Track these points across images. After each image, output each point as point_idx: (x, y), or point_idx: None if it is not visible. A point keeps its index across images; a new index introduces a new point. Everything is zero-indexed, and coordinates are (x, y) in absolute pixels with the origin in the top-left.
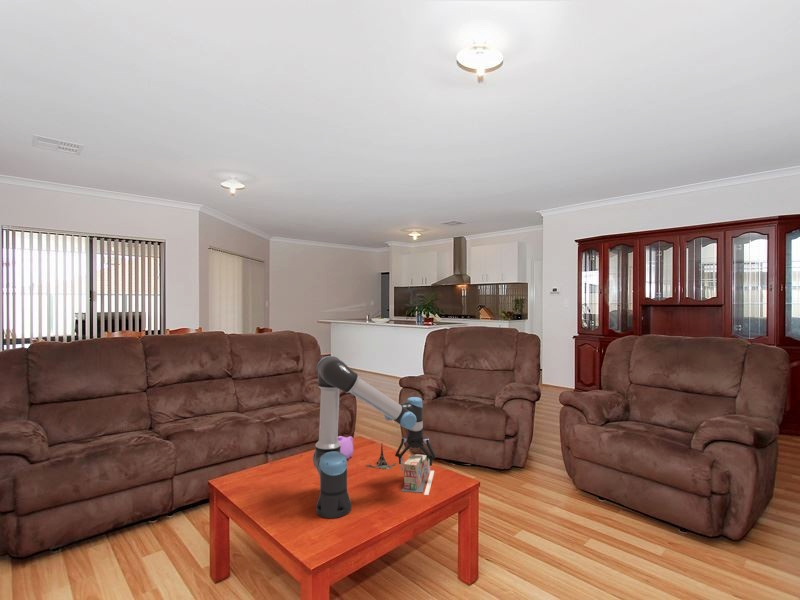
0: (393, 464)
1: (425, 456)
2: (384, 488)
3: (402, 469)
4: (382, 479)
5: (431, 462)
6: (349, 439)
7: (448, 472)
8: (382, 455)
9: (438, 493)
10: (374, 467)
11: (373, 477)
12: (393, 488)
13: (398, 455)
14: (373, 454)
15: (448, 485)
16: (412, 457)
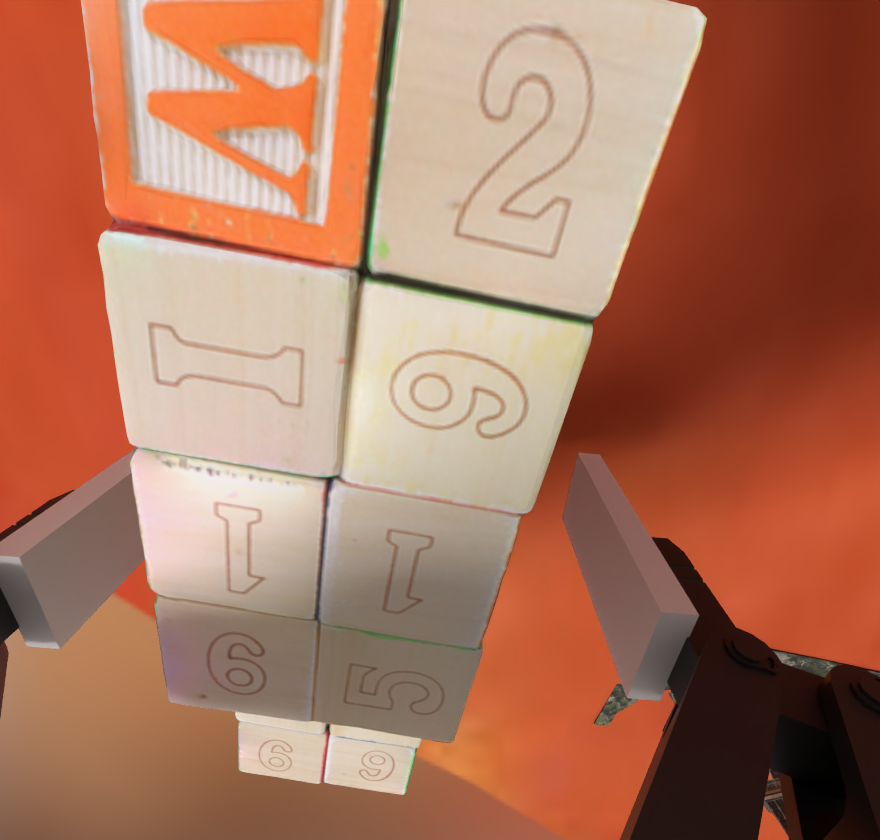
0: (624, 705)
1: (245, 744)
2: (792, 188)
3: (582, 474)
4: (772, 437)
5: (13, 532)
6: None
7: (140, 599)
8: (776, 798)
9: (67, 97)
10: (806, 658)
11: (865, 476)
12: (667, 201)
13: (793, 700)
14: (767, 824)
15: (39, 344)
16: (393, 615)
